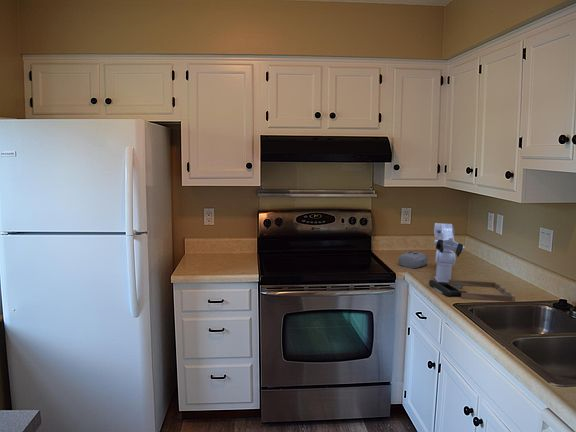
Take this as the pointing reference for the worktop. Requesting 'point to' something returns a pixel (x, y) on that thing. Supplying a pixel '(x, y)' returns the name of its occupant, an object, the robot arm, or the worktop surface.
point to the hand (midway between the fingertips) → (450, 253)
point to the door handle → (447, 288)
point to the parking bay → (505, 297)
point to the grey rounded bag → (413, 260)
